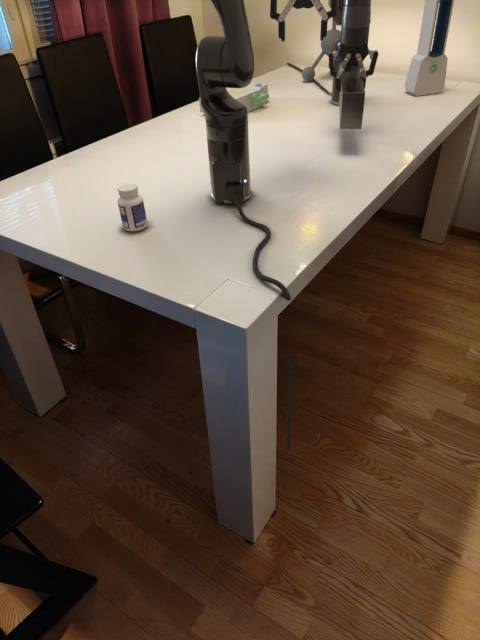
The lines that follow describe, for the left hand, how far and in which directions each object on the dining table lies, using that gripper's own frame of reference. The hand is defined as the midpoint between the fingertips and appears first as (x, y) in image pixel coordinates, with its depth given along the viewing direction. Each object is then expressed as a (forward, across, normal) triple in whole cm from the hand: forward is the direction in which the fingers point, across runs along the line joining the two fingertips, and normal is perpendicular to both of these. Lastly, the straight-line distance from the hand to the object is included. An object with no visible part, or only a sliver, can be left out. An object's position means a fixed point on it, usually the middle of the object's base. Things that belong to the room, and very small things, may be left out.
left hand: (302, 40), depth 108 cm
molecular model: (+30, +6, +103) cm, 107 cm away
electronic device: (+30, +42, +78) cm, 93 cm away
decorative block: (+30, -26, +59) cm, 71 cm away
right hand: (+18, +13, +31) cm, 38 cm away
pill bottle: (+30, -34, -34) cm, 56 cm away
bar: (+23, +13, +23) cm, 35 cm away
